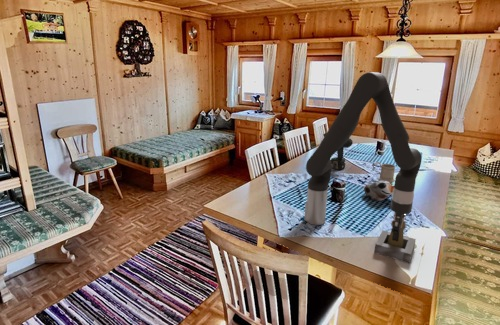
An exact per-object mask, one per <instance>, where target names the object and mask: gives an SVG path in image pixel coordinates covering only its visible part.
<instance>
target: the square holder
mask: <svg viewBox="0 0 500 325" xmlns="http://www.w3.org/2000/svg"><path fill="white" fill-rule="evenodd" d="M390 233H391V231H386V230H383V229H382V231H381V232H380V234H379V236H378V239H377V241H376V242H375V244H374V245H375V246H374V251H373V252H374V253H375V254H377V255H381V256H384V257H388V258H391V259H394V260H397V261H401V262H404V263H408V264H410V263H411V259H412V256H413V253H414V250H415V245H416V239H417V238H412V237H411V236H410V237H409V236H405V235H403V248H399V247H396V246H392V245H388V244H387V242H388V239H389V236H390Z"/></svg>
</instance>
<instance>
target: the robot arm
mask: <svg viewBox="0 0 500 325" xmlns="http://www.w3.org/2000/svg"><path fill="white" fill-rule="evenodd" d="M371 99H372V100H373V102H375V105H376V106H377V109H378V112H379V117H380V123H381V126H382V130H383V133H384V134H385V137H386V139H387V140H388V142H389V144H390V148H391V154H392V157H393V160H394V162H395V164H396V166H397V167H398V168H399V172H398V173H397V174H396V176H395V178H394V180H395V181H394V184H393V186H394V189H393V193H392V194H391V201H390V207H389V208H390V210H391V211H392V212H394V214H393V216H392V218H393V219H392V221H393V228H391V230H392V233H393V237H392V240H393V241H395V240H396V241H398V239H399V233H400V228H402V225H403V221H404V222H405V219H406V217H407V214H411V212H412V210H413V209H412V208H413V203H414V198H415V197H414V196H415V193H414V192H415V188H416V180H417V176H418V174H419V171H420V167H421V165H422V158H423V156H422V154H421V152H420V151H419V150H418V149H416V148H413V147H411V148H410V145H409V141H410V136H409V132H408V131H407V129H406V127H405V125H404V123H403V121H402V119H401V117H400V115H399V112H398V111H397V107H396V105H395V103H394V100H393V96H392V94H391V90H390V86H389V83H388V80H387V77H386V76H385V75H384V74H383V73H380V72H376V71H369V72H366V73H363V74H362V75H360V76H359V78H358V79H357V81H356V83H355V85H354V87H353V89H352V91H351V93H350V95H349V96H348V99H347V100H346V102H345V103H344V105H343V106H342V108H341V110H340V111H339V113H338V115H336V118H334V120H333V122H332V123H331V125H330V127H328V128H329V129H328V130H327V132H325V133H326V135H325V137H324V136H323V139H322V140H321V142H320V144H319V145H318V147H317V148H316V150H315V151H314V152H313V153H312V154H311V155H310V156H309V158H308V160H307V161H306V164H305V170H306V172H307V174H308V175H309V176H310V179H309V180H308V182H307V196H306V201H305V203H304V218H303V219H304V221H305V222H307V223H308V224H310V225H314V226H319V225H324V224H325V223H326V216H327V205H328V204H327V200H328V188H329V184H330V181H331V174H332V168H331V167H332V164H331V158H333V156H334V155H335V153H337V151H338V150H339V149H340V148H341V147H342V146H343V145H344V144H345V143H346V142H347V140H348V139H349V138H350V139H351V136H352V135H353V133H354V132H355V130H356V129H357V127H358V123H359V121H360V117H361V114H362V112H363V111H364V109H365V108H366V106H367V105H368V103H369V102H370V101H371ZM400 224H401V226H400Z"/></svg>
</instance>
